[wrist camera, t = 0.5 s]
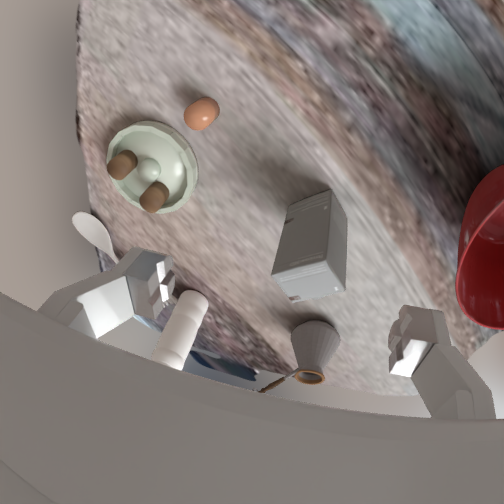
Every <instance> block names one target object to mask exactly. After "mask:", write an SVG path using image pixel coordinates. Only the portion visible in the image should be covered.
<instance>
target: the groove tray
mask: <svg viewBox="0 0 504 504" xmlns="http://www.w3.org/2000/svg"><path fill="white" fill-rule="evenodd" d="M126 149H127V150H131V151H132V152H134V153H135V155H136V156H137V159H138V165H137V167H136V168H135V169H134V170H132V171H131V172H130V173H129V174H128V175H127V176H126V177H125V178H124V179H123V180H115V179H114V178H112V177H111V176H110V178H111V180H112V182H113V183H114V185H115V187H116V189H117V190H118V192H119V193H120V194H121V195H122V196H123V197H124V198H125V199H126V200H127V201H128V202H129V203H131V204H133V205H134V206H136V207H138V208H140V209H142V210H144V209H143V208H142V207H141V205H140V202H139V198H140V196H141V195H142V194H143V193H144V192H145V190H146V189H147V188H148V187H149V186H150V185H151V184H152V183H153V182H161V183H163V184H165V185H166V186H167V188H168V189H169V193H170V195H169V198H168V199H167V200H166V201H165V203H164V204H163V205H162V206H161V208H160V209H159V210H158V211H157V212H156V213H158V214H163V213H168V212H173V211H176V210H177V209H179V208H180V207H181V206H182V205H184V204H185V203H186V202H187V201H188V200H189V198H190V197H191V194H192V193H193V191H194V189H195V187H196V185H197V181H198V172H199V171H198V163H197V159H196V156H195V154H194V152H193V150H192V148H191V146H190V145H189V143H188V142H187V140H186V139H185V138H184V137H183V136H182V135H181V134H180V133H179V132H177V131H176V130H175V129H173V128H172V127H170V126H168V125H166V124H164V123H161V122H157V121H150V120H148V121H139V122H136V123H133V124H131V125H130V126H128V127H126V128H124V129H122V130H121V131H119V132H118V133H117V135H116V136H115V137H114V138H113V140H112V141H111V142H110V144H109V148H108V153H107V158H106V161H107V164H108V162H109V161H110V160H111V159H113V158H114V157H115V156H116V155H118V154H119V153H120V152H121V151H123V150H126ZM144 211H145V210H144Z"/></svg>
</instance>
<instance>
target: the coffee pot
mask: <svg viewBox="0 0 504 504" xmlns="http://www.w3.org/2000/svg"><path fill="white" fill-rule="evenodd" d="M291 342H292V346H293V349H294V352H295V356H296V359H297V363H298V366H299V368H297V369H296V370H294V371H292V372H291V373H289V374H288V375H286V376H285V377H282V378H280V379H279V380H277V381H275V382H273V383H271V384H269V385H268V386H267V387H265V388H262V389H261V391H258V392H259V393H265V392H266V391H267V390H270V389H272V388H274V387H276V386H277V385H279V384H280V383H282V382H283V381H285V380H286V379H288V378H289V377H291V376H293V375H295V378H296V379H297V380H298V381H299V382H302V383H305V384H311V385H313V384H314V385H315V384H320V383H322V382H323V381H324V380H325V377H324V375H323V370H324V369H325V367H326V365H327V364H328V362H329V361H330V359H331V358H332V356H333V354H334V353H335V351H336V350H337V348H338V346H339V345H340V336H339V334H338V332H337V331H336V330H335V329H334V328H333V327H332V326H331V325H329V324H328V323H326V322H323V321H319V320H311V321H307V322H305V323H303V324H301V325H299V326H297V327H296V328H295V329H294V330H293V332H292V334H291ZM254 389H255V388H254ZM253 391H254V390H253Z"/></svg>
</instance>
